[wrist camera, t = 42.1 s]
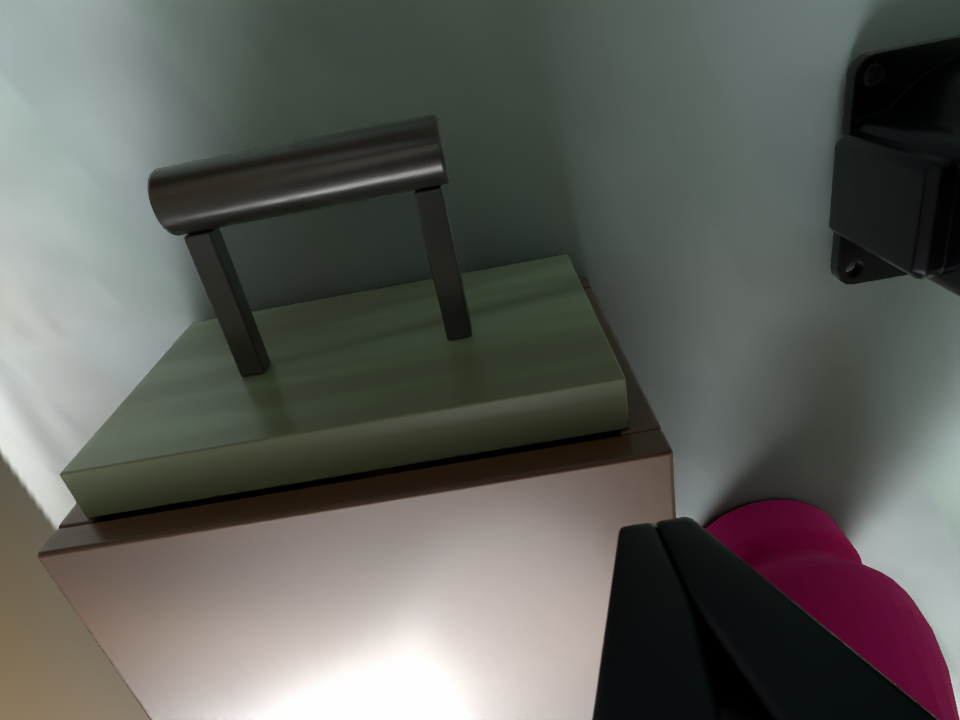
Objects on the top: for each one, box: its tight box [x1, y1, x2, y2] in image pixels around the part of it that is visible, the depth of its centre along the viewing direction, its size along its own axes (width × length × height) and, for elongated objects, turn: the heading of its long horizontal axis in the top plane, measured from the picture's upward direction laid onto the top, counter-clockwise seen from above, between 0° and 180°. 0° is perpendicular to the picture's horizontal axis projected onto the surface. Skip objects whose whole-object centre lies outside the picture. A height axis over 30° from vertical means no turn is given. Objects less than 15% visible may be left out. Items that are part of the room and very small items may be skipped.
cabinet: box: [38, 278, 676, 720], centre depth 20 cm, size 15×13×9 cm
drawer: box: [60, 114, 629, 518], centre depth 18 cm, size 18×11×7 cm, turn 10°
